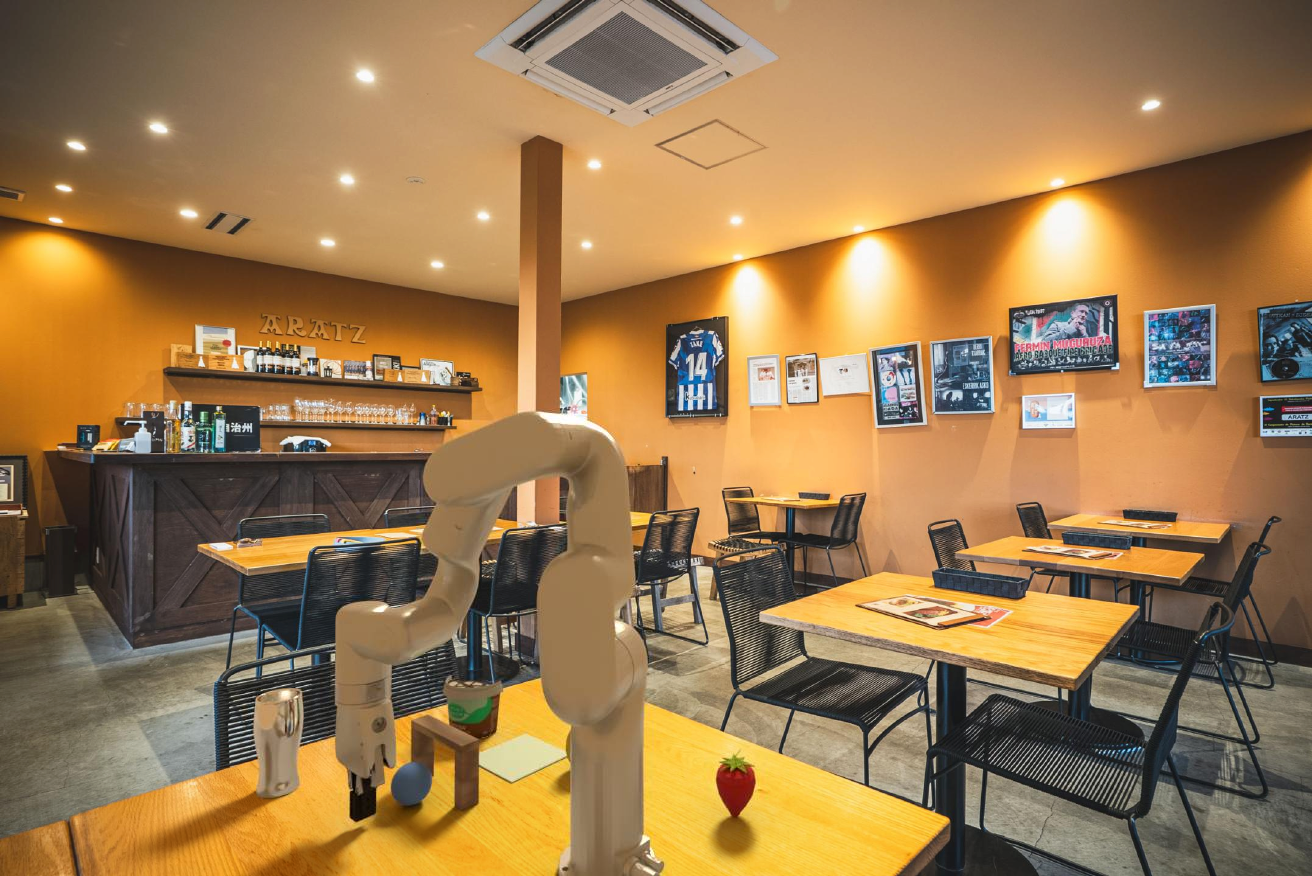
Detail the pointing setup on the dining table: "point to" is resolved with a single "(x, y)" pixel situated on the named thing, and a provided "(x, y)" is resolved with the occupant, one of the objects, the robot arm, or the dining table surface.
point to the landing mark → (519, 757)
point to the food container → (473, 706)
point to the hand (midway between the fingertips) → (362, 816)
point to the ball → (411, 783)
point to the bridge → (465, 755)
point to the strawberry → (735, 783)
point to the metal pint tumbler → (278, 741)
